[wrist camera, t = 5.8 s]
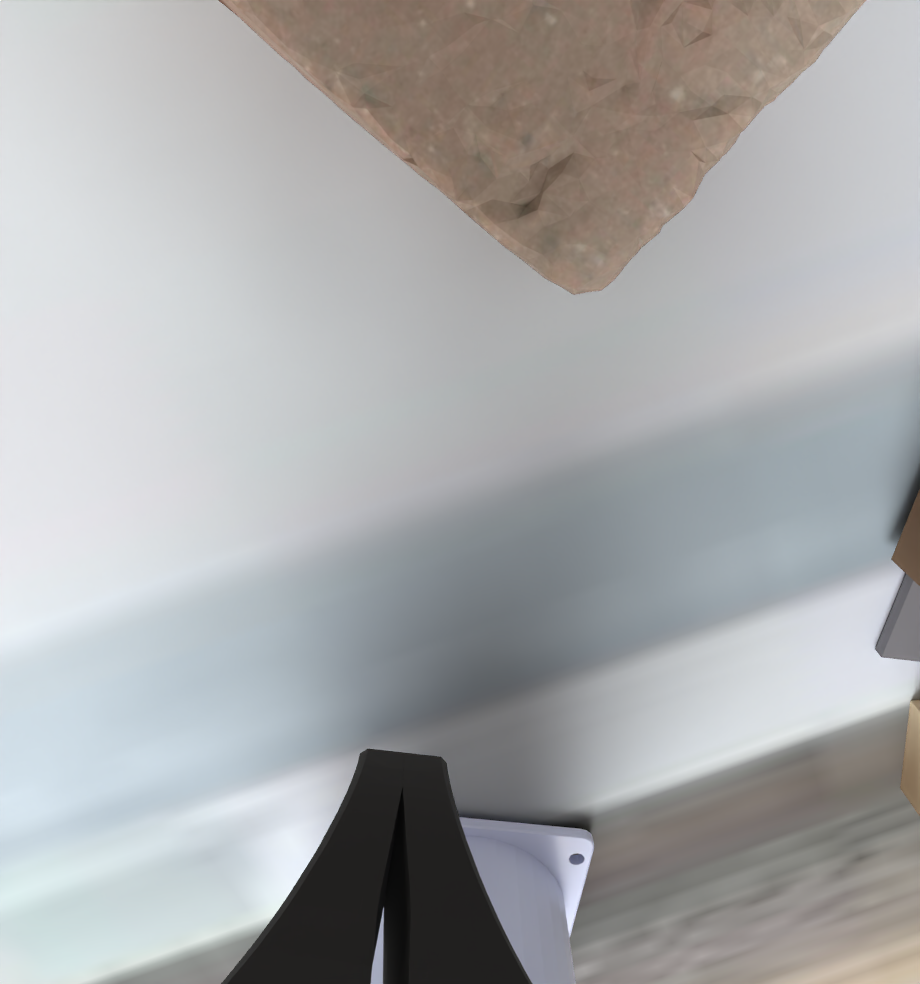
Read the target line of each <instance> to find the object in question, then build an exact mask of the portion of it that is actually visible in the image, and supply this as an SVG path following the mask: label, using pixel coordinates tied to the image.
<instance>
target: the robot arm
mask: <svg viewBox="0 0 920 984" xmlns="http://www.w3.org/2000/svg"><path fill="white" fill-rule="evenodd" d="M593 850H594V841H593V837H592V835H591V833H590V832H588V831H587V830H584V829H578V828H568V827H557V826H547V825H536V824H526V823H515V822H505V821H494V820H484V819H473V818H463V817H459V815H458V812H457V808H456V805H455V801H454V798H453V794H452V790H451V786H450V781H449V776H448V771H447V763H446V762H445V761H444V760H443V759H442V757H437V756H428V755H419V754H411V753H402V752H393V751H384V750H375V749H366V750H365V751H363V752H362V753H360V756H359V760H358V764H357V767H356V770H355V773H354V776H353V779H352V781H351V784H350V786H349V789H348V791H347V793H346V795H345V797H344V800H343V802H342V804H341V806H340V808H339V810H338V812H337V814H336V816H335V818H334V820H333V822H332V823H331V825H330V827H329V829H328V831H327V833H326V835H325V836H324V838H323V840H322V842H321V844H320V846H319V847H318V849H317V851H316V853H315V854H314V856H313V857H312V859H311V861H310V862H309V864H308V865H307V867H306V869H305V870H304V872H303V873H302V875H301V877H300V878H299V880H298V881H297V883H296V885H295V886H294V888H293V889H292V891H291V892H290V894H289V895H288V897H287V898H286V900H285V901H284V903H283V904H282V906H281V907H280V908H279V910H278V911H277V913H276V914H275V916H274V917H273V918H272V920H271V921H270V922H269V924H268V925H267V927H266V928H265V929H264V931H263V932H262V933H261V935H260V936H259V937H258V939H257V940H256V941H255V943H254V944H253V945H252V946H251V948H250V949H249V950H248V951H247V953H246V954H245V955H244V956H243V958H242V959H241V960H240V961H239V963H238V964H237V965H236V966H235V968H234V969H233V970H232V971H231V972H230V974H229V975H228V976H227V977H226V979H225V980H224V981H223V982H222V983H221V984H576V980H575V973H574V966H573V959H572V952H571V945H570V935H571V931H572V927H573V924H574V920H575V916H576V913H577V909H578V905H579V902H580V898H581V894H582V891H583V887H584V883H585V880H586V876H587V872H588V869H589V865H590V861H591V858H592V854H593ZM576 853H579V854H578V855H573V854H576Z"/></svg>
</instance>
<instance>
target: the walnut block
mask: <svg viewBox="0 0 920 984" xmlns="http://www.w3.org/2000/svg"><path fill="white" fill-rule="evenodd" d="M891 560H893V561H894V562H895V563H896V564H897V565H898V566H899V567H900V568H901V569H902V570H903V571H904V572H905V573H906V574H907V575H908V576H909V577H910V578H911V579H912V580H914V581H915V582H916V583H917V584H918V585H919V586H920V489H919V491H918V494H917V496H916V499H915V501H914V504H913V506H912V509H911V511H910V514H909V516H908V519H907V521H906V524H905V526H904V529H903V531H902V534H901V536H900V539H899V541H898V544H897V546H896V549H895V551H894V554H893V556H892V559H891Z"/></svg>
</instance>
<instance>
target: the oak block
mask: <svg viewBox="0 0 920 984" xmlns="http://www.w3.org/2000/svg"><path fill="white" fill-rule="evenodd" d="M900 788H901V790H902V791H903V793H904V794H905V796H906V797H907V799H908V800H909V801H910V803H911V804H912V806H913V807H914V809H915V810H916V812H917V813H918V814H919V816H920V700H911V702H910V711H909V719H908V727H907V736H906V744H905V752H904V761H903V769H902V777H901V786H900Z"/></svg>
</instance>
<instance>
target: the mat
mask: <svg viewBox="0 0 920 984" xmlns="http://www.w3.org/2000/svg"><path fill="white" fill-rule="evenodd" d="M875 650H876V651H877V652H878V653H879V655H880V656H881V657H884V658H893V659H902V660H911V661H920V586H919V585H918V584H917V583H916V582H915V581H914V580H912V579H911V578H910V577H909V576H908V575H907V574H906V575H905V578H904V580H903V583H902V585H901V587H900V590H899V592H898V595H897V597H896V600H895V602H894V604H893V607H892V609H891V612H890V614H889V617H888V619H887V622H886V624H885V626H884V629H883V631H882V634H881V636H880V639H879V641H878V644H877V646H876V648H875Z"/></svg>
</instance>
